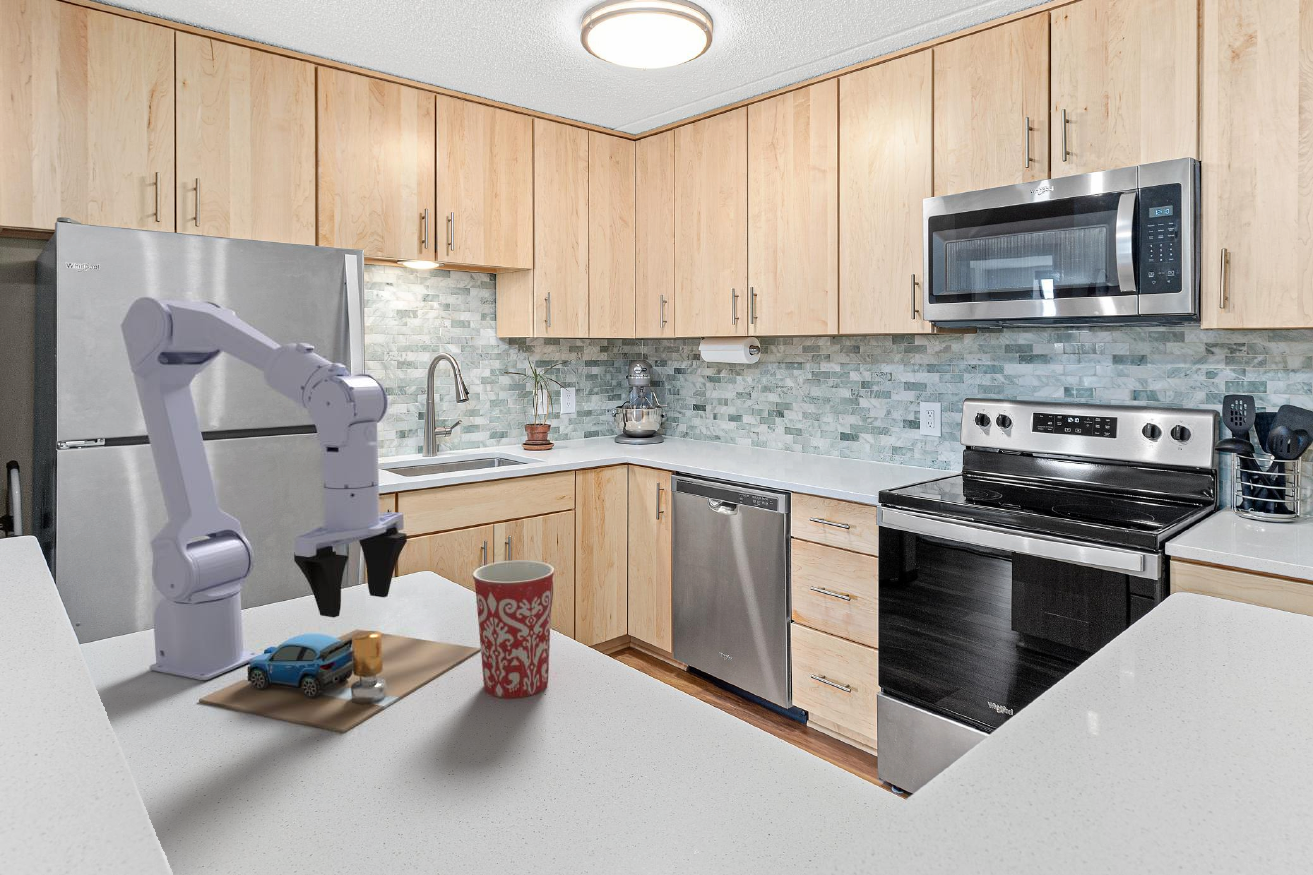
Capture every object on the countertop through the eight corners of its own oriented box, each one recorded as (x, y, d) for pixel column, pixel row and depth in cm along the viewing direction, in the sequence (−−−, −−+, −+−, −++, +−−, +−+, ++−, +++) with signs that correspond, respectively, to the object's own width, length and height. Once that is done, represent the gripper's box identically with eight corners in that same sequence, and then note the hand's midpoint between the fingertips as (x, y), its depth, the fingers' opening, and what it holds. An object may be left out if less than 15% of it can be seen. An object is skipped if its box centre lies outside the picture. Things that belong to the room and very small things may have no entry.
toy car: (278, 669, 94) (276, 623, 94) (364, 680, 91) (362, 632, 90) (239, 688, 88) (236, 639, 88) (329, 701, 85) (326, 650, 84)
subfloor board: (199, 701, 86) (198, 699, 86) (356, 631, 108) (356, 629, 108) (343, 732, 79) (343, 729, 79) (480, 650, 101) (480, 648, 101)
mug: (530, 708, 84) (528, 584, 83) (459, 695, 88) (456, 576, 86) (584, 665, 96) (583, 557, 95) (519, 655, 99) (517, 550, 98)
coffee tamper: (345, 704, 85) (342, 640, 84) (361, 690, 88) (358, 629, 87) (377, 705, 84) (375, 641, 83) (392, 691, 88) (390, 630, 87)
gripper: (329, 498, 78) (334, 630, 80) (423, 478, 92) (426, 591, 93) (276, 493, 81) (282, 621, 82) (375, 474, 95) (378, 585, 96)
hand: (355, 605), depth 88 cm, fingers open, 7 cm apart
